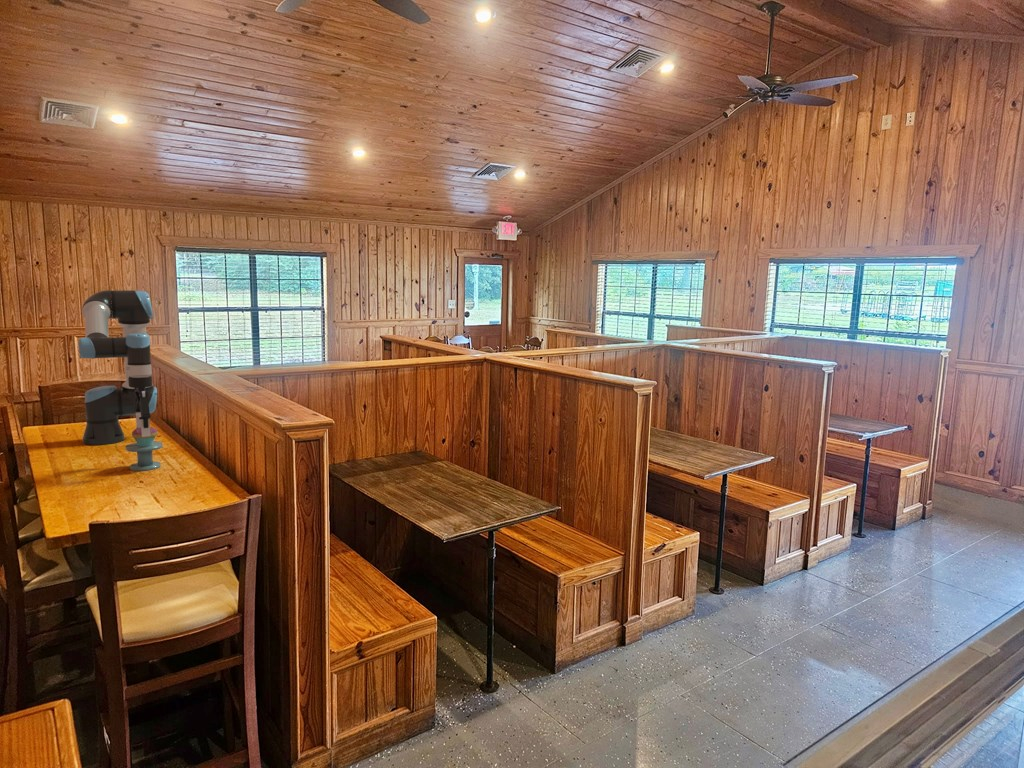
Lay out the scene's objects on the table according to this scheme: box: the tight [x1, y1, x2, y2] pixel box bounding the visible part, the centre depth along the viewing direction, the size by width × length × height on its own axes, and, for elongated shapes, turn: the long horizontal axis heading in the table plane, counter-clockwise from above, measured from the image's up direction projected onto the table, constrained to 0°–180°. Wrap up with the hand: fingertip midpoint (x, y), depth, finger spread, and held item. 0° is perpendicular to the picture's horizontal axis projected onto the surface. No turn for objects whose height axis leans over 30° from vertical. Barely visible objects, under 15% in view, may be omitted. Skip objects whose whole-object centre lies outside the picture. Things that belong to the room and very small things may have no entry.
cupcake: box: [131, 426, 159, 447], centre depth 240 cm, size 9×8×12 cm
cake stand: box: [125, 440, 164, 472], centre depth 242 cm, size 12×12×8 cm
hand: (143, 432), depth 240 cm, fingers open, 13 cm apart
